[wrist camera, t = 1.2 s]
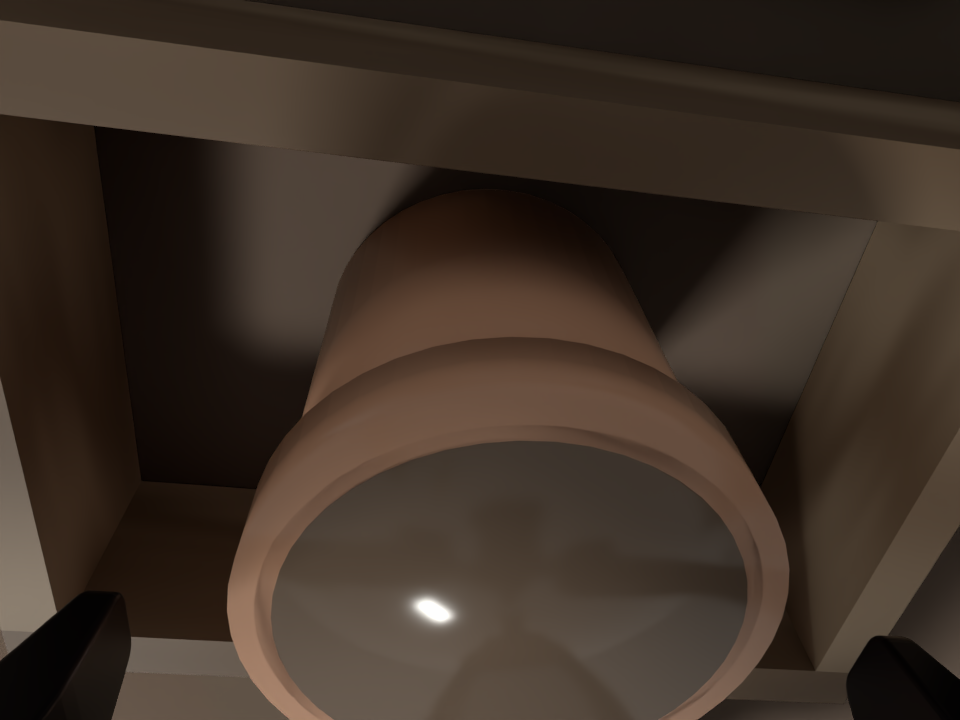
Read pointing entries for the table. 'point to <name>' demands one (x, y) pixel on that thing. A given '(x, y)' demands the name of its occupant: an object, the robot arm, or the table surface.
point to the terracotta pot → (501, 495)
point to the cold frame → (477, 148)
